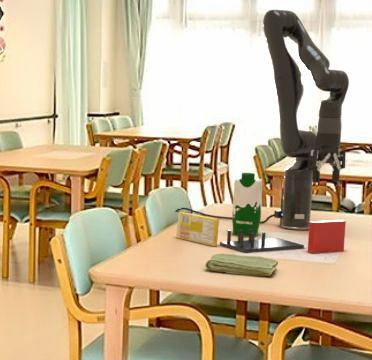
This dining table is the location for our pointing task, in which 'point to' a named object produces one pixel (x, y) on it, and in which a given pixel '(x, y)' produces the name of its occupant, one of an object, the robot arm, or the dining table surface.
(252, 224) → the milk carton
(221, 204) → the dining table surface
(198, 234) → the candy box
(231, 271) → the washcloth
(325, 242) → the red rectangular block
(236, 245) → the dish rack
